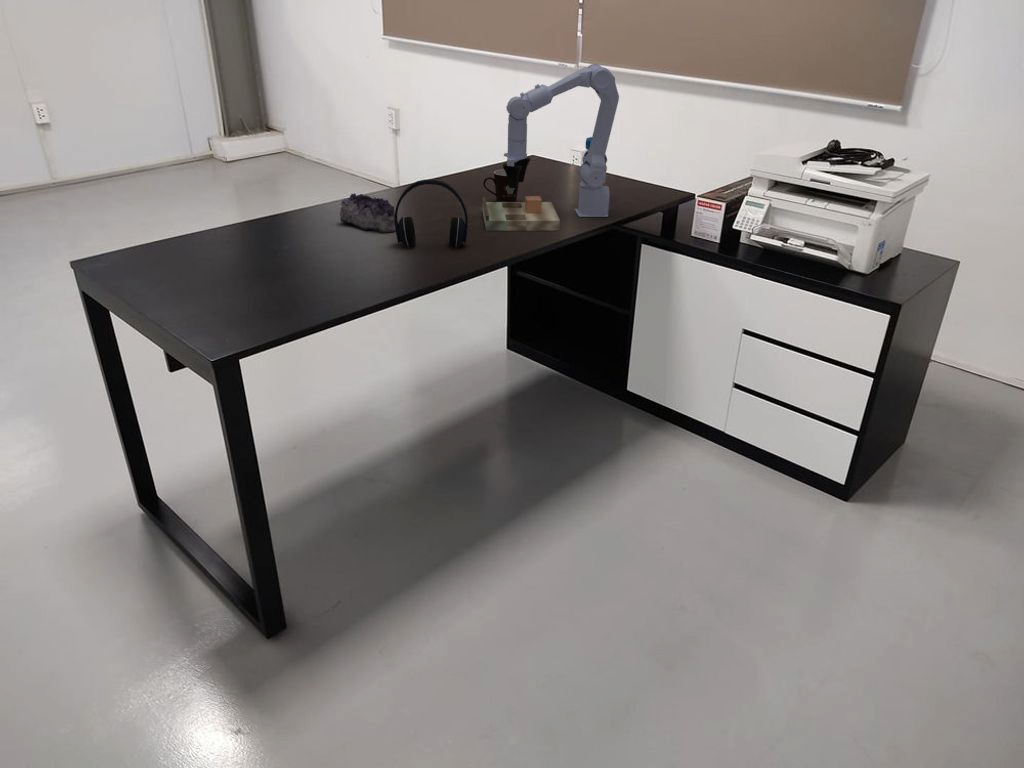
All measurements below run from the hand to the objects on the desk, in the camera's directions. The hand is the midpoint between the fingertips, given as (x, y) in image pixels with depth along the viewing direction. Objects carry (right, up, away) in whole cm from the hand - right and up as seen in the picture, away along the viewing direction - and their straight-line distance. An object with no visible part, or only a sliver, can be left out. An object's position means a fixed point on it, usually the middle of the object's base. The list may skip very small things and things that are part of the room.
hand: (516, 184), depth 238 cm
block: (+5, -8, -1) cm, 10 cm away
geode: (-43, -14, -7) cm, 46 cm away
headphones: (-24, -23, -22) cm, 40 cm away
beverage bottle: (+26, +1, +24) cm, 35 cm away
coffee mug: (-5, -2, +17) cm, 18 cm away
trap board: (+1, -11, 0) cm, 11 cm away
